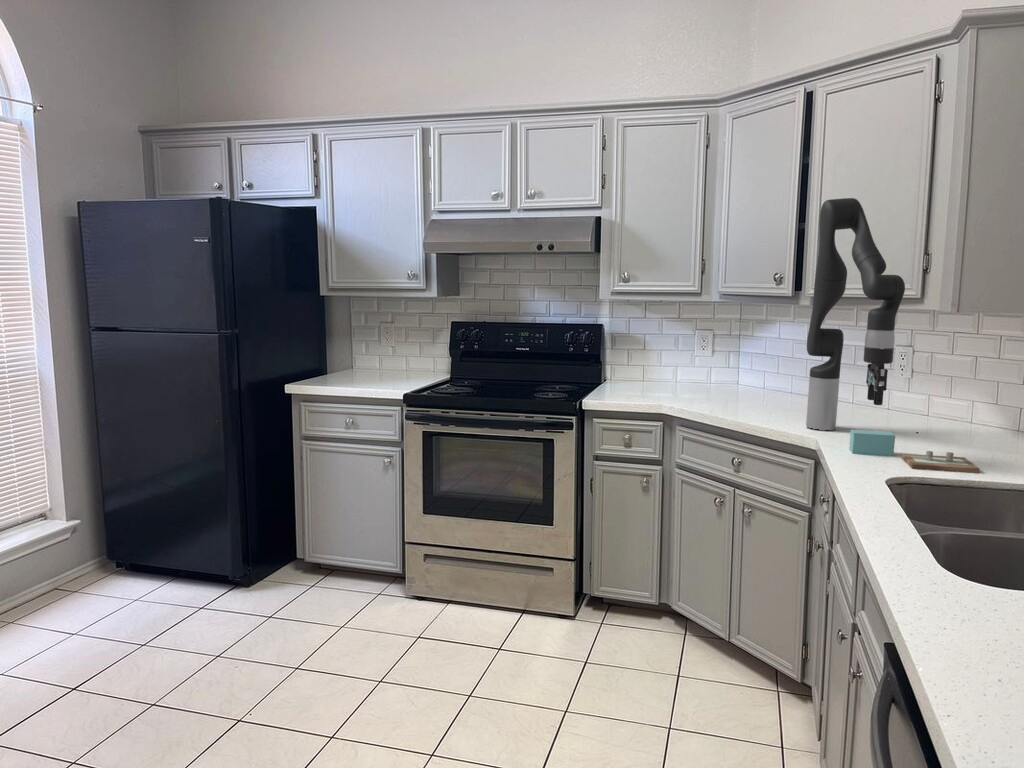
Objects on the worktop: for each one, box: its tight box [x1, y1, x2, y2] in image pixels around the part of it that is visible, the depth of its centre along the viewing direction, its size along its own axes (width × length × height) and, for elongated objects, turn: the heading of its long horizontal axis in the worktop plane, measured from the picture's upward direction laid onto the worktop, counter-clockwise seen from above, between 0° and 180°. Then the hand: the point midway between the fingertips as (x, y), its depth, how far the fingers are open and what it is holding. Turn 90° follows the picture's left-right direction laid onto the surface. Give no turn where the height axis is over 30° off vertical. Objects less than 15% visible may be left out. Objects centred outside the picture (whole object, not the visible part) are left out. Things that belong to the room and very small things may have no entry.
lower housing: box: [848, 429, 896, 457], centre depth 219 cm, size 5×11×6 cm, turn 76°
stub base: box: [900, 450, 980, 474], centre depth 206 cm, size 12×16×4 cm
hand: (874, 402), depth 217 cm, fingers open, 8 cm apart
